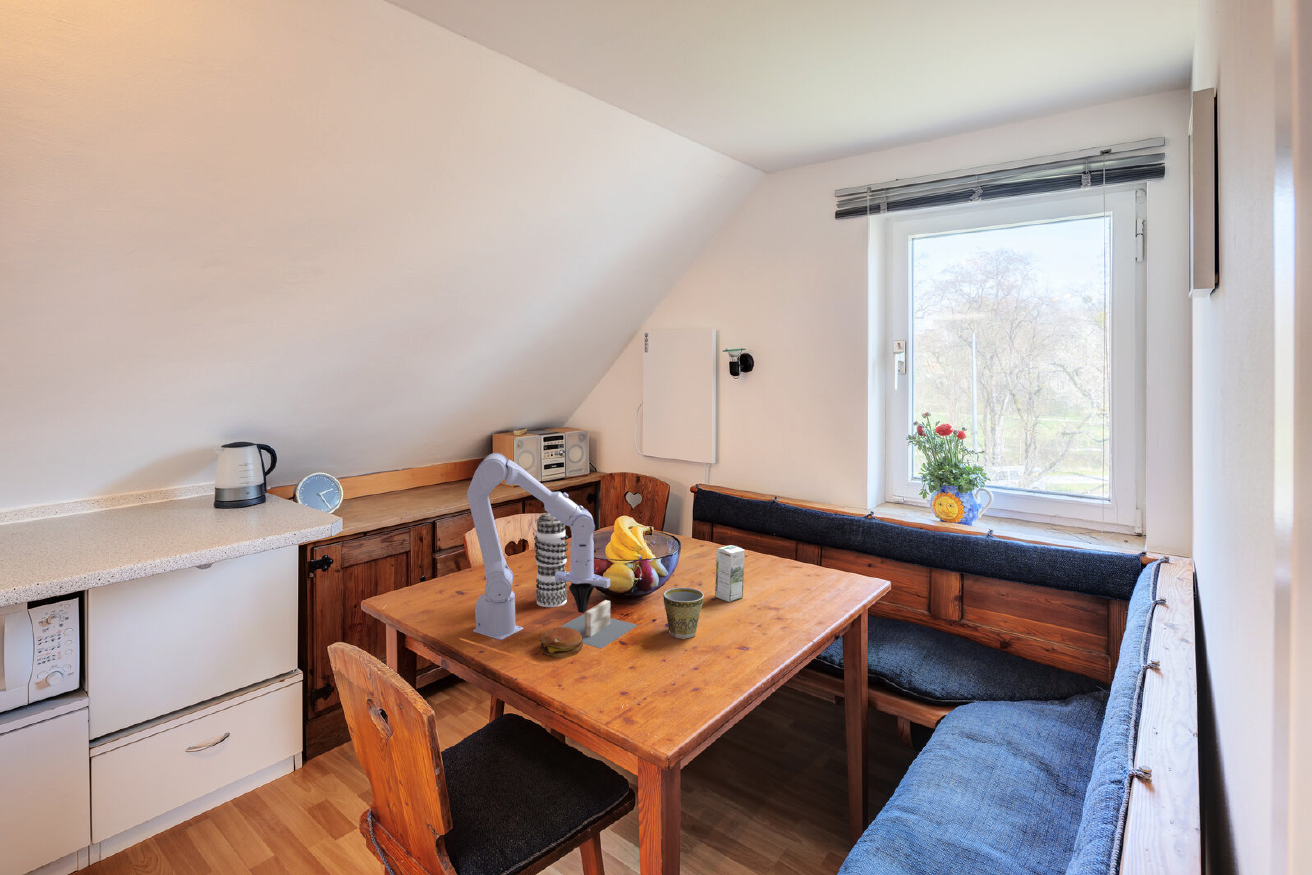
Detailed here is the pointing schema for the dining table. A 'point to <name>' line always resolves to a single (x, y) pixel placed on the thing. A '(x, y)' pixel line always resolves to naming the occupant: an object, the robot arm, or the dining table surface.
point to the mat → (604, 635)
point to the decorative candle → (550, 561)
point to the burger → (561, 642)
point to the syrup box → (729, 573)
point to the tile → (597, 618)
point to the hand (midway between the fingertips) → (582, 611)
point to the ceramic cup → (683, 611)
